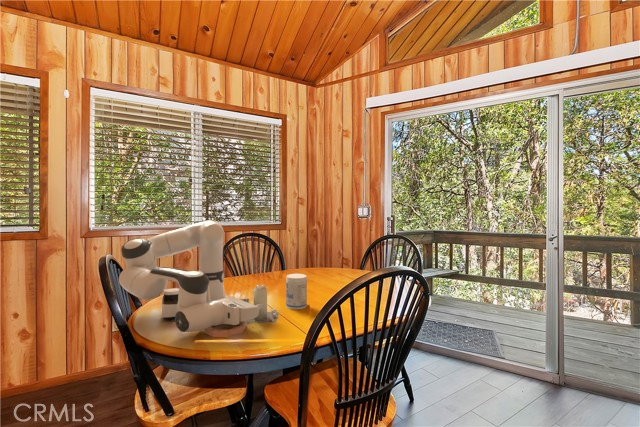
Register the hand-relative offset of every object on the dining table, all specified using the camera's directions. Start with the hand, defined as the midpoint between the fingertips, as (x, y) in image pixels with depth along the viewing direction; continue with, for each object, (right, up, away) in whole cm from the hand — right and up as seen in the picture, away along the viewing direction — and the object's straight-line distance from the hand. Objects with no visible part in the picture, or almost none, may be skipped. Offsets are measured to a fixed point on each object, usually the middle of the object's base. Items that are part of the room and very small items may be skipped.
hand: (254, 302), depth 128 cm
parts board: (+3, -8, +4) cm, 9 cm away
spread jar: (-33, -8, +4) cm, 34 cm away
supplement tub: (+15, -8, +18) cm, 25 cm away
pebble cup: (+2, -7, +3) cm, 8 cm away
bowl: (-9, -8, -8) cm, 15 cm away
